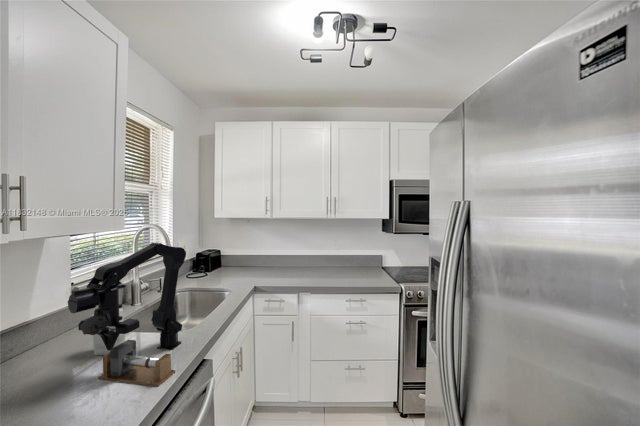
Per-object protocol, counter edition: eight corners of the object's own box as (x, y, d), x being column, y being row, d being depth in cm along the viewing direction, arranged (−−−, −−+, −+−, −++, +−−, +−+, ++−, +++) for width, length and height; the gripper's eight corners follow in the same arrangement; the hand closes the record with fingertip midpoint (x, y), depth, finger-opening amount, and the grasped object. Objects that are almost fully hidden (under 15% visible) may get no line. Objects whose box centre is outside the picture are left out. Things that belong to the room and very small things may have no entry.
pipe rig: (97, 379, 97) (97, 358, 97) (118, 366, 105) (118, 346, 105) (158, 386, 93) (157, 364, 93) (175, 372, 101) (174, 351, 101)
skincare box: (125, 347, 120) (124, 308, 120) (114, 355, 113) (114, 314, 113) (104, 347, 120) (103, 308, 119) (92, 355, 113) (91, 314, 113)
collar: (110, 375, 97) (110, 349, 97) (128, 363, 104) (128, 339, 104) (118, 376, 96) (118, 350, 96) (136, 364, 103) (135, 340, 103)
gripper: (60, 310, 94) (62, 359, 95) (111, 313, 91) (112, 365, 91) (93, 299, 105) (94, 343, 106) (140, 302, 102) (141, 348, 102)
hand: (109, 350), depth 101 cm, fingers closed
